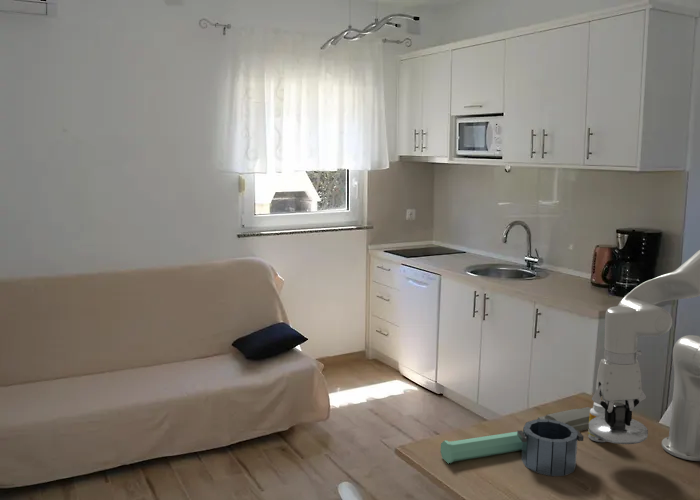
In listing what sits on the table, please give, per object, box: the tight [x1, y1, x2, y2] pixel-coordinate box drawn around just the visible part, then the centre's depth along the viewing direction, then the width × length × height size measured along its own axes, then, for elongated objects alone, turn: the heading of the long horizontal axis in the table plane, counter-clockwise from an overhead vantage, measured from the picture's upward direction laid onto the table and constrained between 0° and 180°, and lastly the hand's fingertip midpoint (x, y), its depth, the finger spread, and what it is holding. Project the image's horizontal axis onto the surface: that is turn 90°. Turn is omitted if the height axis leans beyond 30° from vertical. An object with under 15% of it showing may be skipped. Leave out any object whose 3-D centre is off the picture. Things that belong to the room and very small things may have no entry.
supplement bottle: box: [587, 401, 607, 443], centre depth 181 cm, size 6×6×10 cm
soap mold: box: [537, 406, 592, 432], centre depth 191 cm, size 10×20×4 cm, turn 114°
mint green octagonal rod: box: [440, 431, 523, 465], centre depth 172 cm, size 6×6×25 cm
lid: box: [589, 402, 649, 445], centre depth 166 cm, size 14×14×7 cm
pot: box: [516, 418, 585, 477], centre depth 167 cm, size 16×13×9 cm
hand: (617, 423), depth 166 cm, fingers closed on lid, 3 cm apart
